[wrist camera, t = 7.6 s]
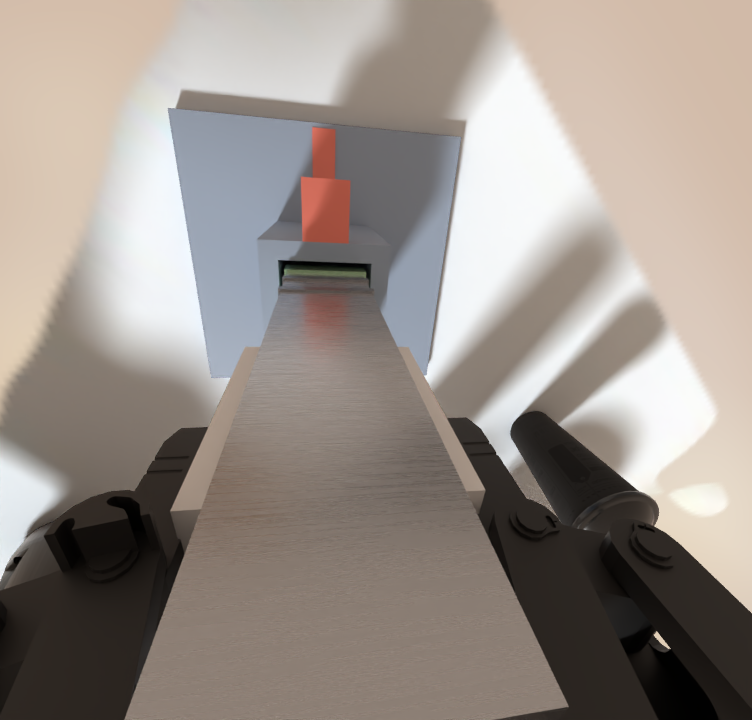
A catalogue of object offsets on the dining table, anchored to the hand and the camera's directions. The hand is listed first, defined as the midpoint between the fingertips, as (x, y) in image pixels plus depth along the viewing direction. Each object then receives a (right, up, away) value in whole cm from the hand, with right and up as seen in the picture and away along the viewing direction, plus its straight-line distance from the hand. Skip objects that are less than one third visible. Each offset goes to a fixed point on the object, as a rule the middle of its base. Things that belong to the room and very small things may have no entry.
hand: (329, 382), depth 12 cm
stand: (-3, +9, +17) cm, 20 cm away
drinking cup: (+20, -7, +29) cm, 36 cm away
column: (-2, +6, +11) cm, 12 cm away
